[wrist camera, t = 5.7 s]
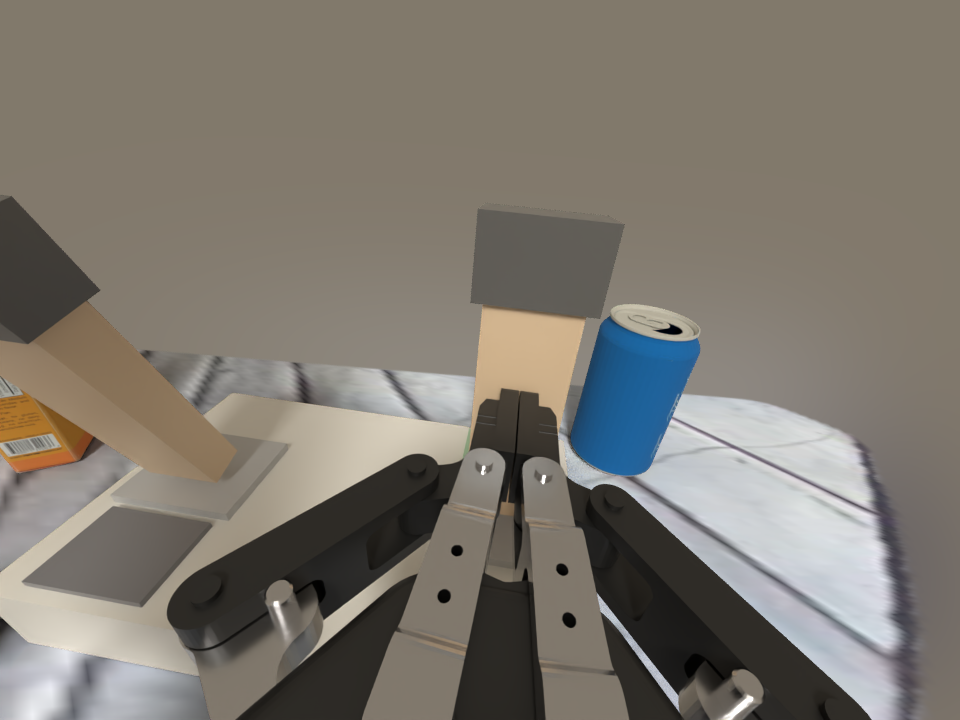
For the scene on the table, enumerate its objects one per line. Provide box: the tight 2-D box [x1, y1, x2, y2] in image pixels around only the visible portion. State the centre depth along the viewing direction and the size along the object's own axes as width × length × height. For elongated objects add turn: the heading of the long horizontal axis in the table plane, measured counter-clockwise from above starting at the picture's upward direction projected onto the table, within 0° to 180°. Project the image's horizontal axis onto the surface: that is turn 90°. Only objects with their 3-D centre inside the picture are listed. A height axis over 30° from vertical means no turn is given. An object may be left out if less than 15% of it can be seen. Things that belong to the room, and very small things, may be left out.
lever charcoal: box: [0, 195, 238, 483], centre depth 14 cm, size 2×4×14 cm, turn 82°
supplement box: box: [0, 376, 94, 473], centre depth 23 cm, size 3×3×10 cm
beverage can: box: [571, 304, 700, 476], centre depth 27 cm, size 6×6×12 cm
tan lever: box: [469, 203, 624, 516], centre depth 15 cm, size 2×4×14 cm, turn 83°
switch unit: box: [0, 393, 568, 676], centre depth 20 cm, size 14×24×4 cm, turn 83°
